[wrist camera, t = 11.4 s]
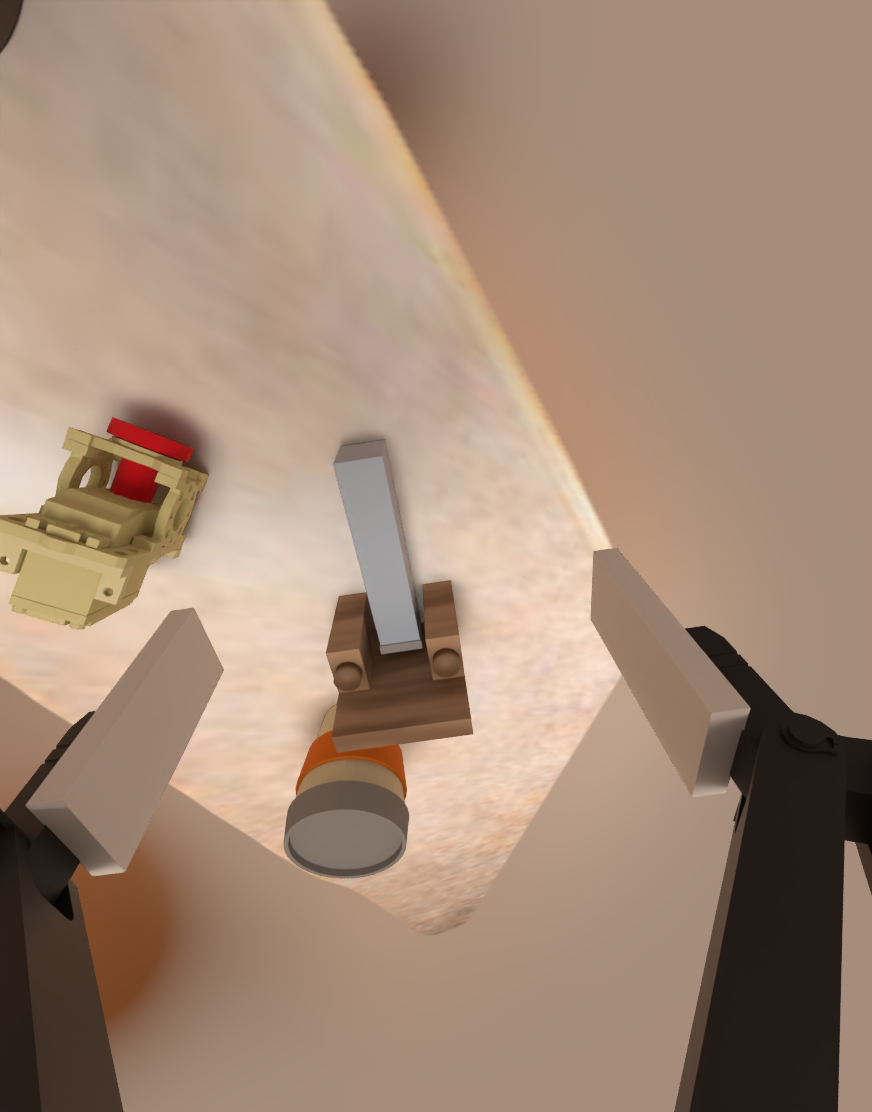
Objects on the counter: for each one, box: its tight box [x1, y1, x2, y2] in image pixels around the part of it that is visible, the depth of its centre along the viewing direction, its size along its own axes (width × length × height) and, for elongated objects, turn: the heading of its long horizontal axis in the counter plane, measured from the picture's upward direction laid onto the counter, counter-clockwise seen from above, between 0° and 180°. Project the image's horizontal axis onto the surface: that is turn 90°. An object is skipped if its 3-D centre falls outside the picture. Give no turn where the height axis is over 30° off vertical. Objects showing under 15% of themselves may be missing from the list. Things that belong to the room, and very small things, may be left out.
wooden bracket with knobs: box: [326, 581, 473, 753], centre depth 45 cm, size 7×12×14 cm, turn 98°
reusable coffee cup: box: [284, 704, 409, 878], centre depth 52 cm, size 13×13×15 cm
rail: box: [333, 439, 423, 654], centre depth 44 cm, size 20×4×5 cm, turn 8°
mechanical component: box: [0, 417, 209, 629], centre depth 36 cm, size 8×18×20 cm, turn 155°
